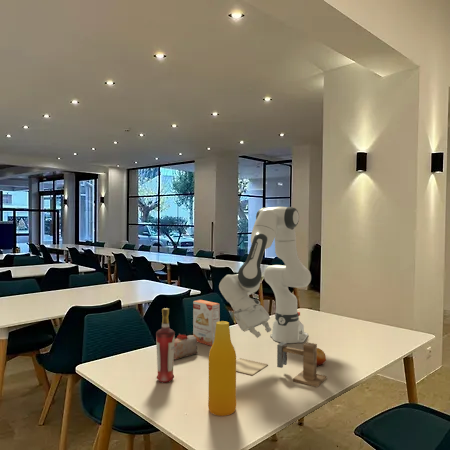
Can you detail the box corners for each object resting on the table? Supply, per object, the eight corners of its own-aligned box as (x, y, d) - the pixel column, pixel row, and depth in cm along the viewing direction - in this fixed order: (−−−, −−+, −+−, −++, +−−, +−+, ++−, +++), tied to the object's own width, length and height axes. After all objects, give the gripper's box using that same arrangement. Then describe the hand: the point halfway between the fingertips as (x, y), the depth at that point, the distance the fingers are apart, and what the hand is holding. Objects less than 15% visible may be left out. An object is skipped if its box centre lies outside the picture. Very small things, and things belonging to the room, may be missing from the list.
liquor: (157, 376, 161) (158, 306, 161) (176, 376, 161) (176, 307, 161) (154, 383, 154) (154, 311, 153) (173, 384, 154) (173, 311, 153)
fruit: (310, 355, 183) (318, 342, 180) (323, 368, 178) (331, 355, 175) (299, 359, 177) (307, 346, 174) (312, 373, 172) (321, 359, 169)
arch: (282, 363, 168) (282, 341, 167) (286, 364, 167) (287, 342, 166) (277, 366, 163) (277, 344, 163) (281, 367, 162) (281, 345, 162)
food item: (174, 361, 179) (174, 339, 179) (164, 356, 185) (164, 335, 184) (199, 354, 188) (199, 333, 188) (188, 350, 194) (188, 330, 194)
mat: (240, 358, 182) (240, 358, 182) (267, 365, 174) (267, 364, 174) (223, 368, 170) (223, 367, 170) (252, 375, 162) (252, 374, 162)
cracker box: (192, 341, 208) (192, 300, 208) (200, 338, 213) (201, 299, 212) (211, 347, 199) (211, 304, 198) (220, 344, 203) (220, 303, 203)
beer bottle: (203, 413, 130) (204, 324, 130) (214, 401, 139) (214, 318, 139) (230, 418, 127) (230, 327, 127) (239, 406, 136) (240, 320, 135)
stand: (283, 368, 170) (283, 335, 170) (326, 378, 160) (326, 343, 160) (273, 376, 162) (273, 341, 162) (317, 387, 152) (317, 350, 151)
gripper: (236, 307, 164) (257, 335, 159) (260, 299, 182) (279, 324, 176) (227, 316, 167) (247, 344, 162) (251, 308, 184) (270, 332, 179)
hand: (264, 333), depth 169 cm, fingers open, 8 cm apart
